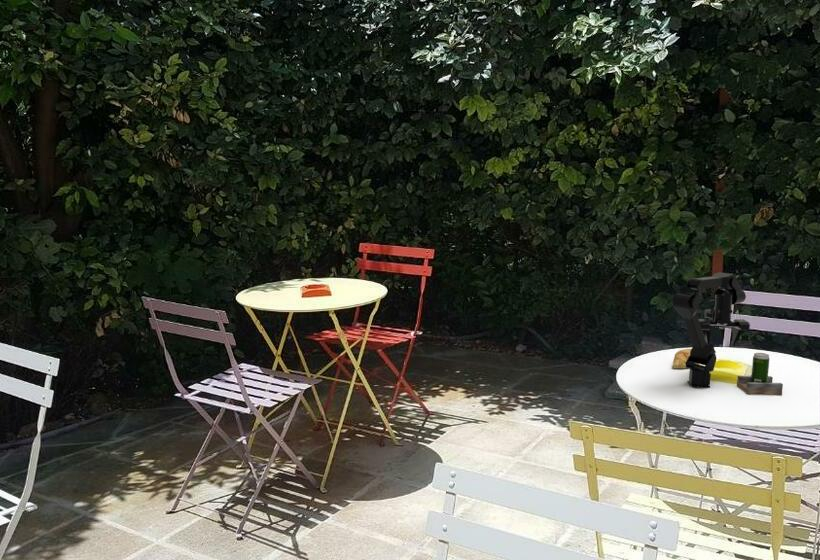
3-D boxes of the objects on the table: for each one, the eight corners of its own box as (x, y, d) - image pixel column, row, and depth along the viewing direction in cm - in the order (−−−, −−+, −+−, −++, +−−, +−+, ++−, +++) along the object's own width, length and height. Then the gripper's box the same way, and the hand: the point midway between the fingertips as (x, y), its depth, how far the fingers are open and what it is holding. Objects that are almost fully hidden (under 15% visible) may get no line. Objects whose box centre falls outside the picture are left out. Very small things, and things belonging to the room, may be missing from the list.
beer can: (766, 389, 261) (769, 357, 259) (750, 387, 263) (753, 355, 261) (767, 385, 266) (769, 353, 264) (750, 383, 268) (753, 351, 266)
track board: (747, 394, 260) (748, 383, 259) (736, 385, 270) (737, 375, 269) (781, 395, 259) (782, 384, 259) (769, 386, 269) (770, 376, 269)
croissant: (680, 379, 289) (690, 364, 285) (659, 363, 295) (669, 348, 291) (703, 368, 304) (713, 353, 300) (684, 353, 309) (693, 338, 305)
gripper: (740, 302, 281) (737, 341, 283) (691, 301, 282) (688, 340, 284) (752, 308, 270) (748, 348, 272) (700, 307, 271) (698, 348, 273)
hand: (720, 346), depth 276 cm, fingers open, 9 cm apart
